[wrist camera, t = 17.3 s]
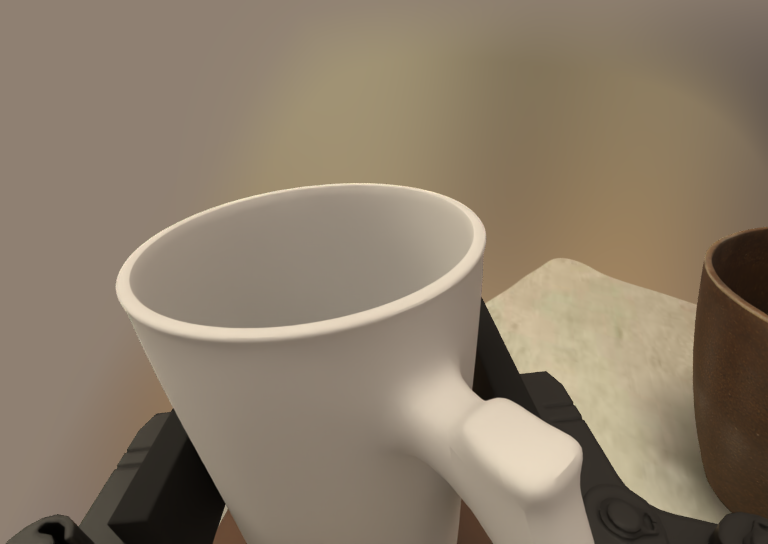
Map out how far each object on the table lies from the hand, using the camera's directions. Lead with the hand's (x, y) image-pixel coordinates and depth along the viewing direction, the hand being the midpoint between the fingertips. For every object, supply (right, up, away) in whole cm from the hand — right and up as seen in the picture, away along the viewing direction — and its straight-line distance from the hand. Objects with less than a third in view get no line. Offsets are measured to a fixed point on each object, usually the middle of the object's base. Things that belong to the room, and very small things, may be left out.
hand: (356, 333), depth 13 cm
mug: (+1, -8, -1) cm, 8 cm away
